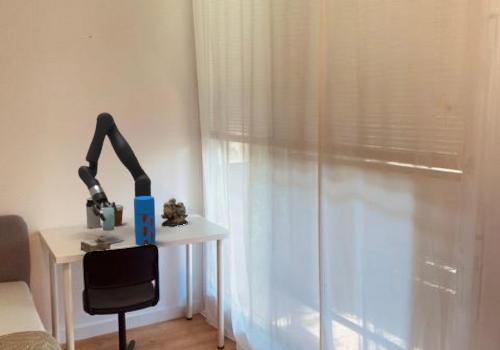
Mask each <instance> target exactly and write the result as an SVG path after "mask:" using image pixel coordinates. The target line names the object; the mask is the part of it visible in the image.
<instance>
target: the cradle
mask: <svg viewBox="0 0 500 350" xmlns="http://www.w3.org/2000/svg"><path fill="white" fill-rule="evenodd" d="M103 239H104V238H100V237H97V238H96V240H97V242H96V244H90V243H88V242H86V241H85V242H84V241H80V250H81V251H84V252H86V253H88V252H91V251H97V250H106V249H110V250H111V244H110V242H108V241H106V240H103ZM106 251H107V250H106Z"/></svg>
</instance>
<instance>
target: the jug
mask: <svg viewBox="0 0 500 350" xmlns="http://www.w3.org/2000/svg"><path fill="white" fill-rule="evenodd" d="M102 214H103V215H104V217H105V221H102V231H104V232H109V231H110V232H111V231H115V226H114V225H115V217H114V208H113V207H104V208H102Z"/></svg>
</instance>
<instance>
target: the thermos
mask: <svg viewBox="0 0 500 350" xmlns="http://www.w3.org/2000/svg"><path fill="white" fill-rule="evenodd" d="M155 205H156V204H155V197H154V196H153V195H151V196H140V197H135V196H134V198H133V212H134V214H133V215H134V216H133V217H134V238H135V244H136V245H137V246H140V245H145V244H152V245H154V244H155V243H156V236H157V235H156V215H155V214H156V212H155V210H156V207H155ZM153 243H154V244H153Z"/></svg>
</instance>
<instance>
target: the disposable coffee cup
mask: <svg viewBox="0 0 500 350" xmlns="http://www.w3.org/2000/svg"><path fill="white" fill-rule="evenodd" d="M115 205H116V208H117V211H116V213H115V214H116V216H117V217H116V219H115V225H114V227H120V226H122V224H123V213H124V206H123V205H121V204H115Z"/></svg>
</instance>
